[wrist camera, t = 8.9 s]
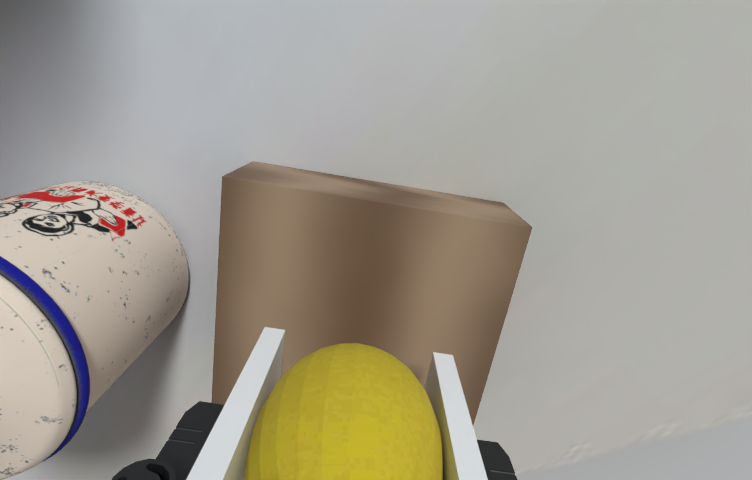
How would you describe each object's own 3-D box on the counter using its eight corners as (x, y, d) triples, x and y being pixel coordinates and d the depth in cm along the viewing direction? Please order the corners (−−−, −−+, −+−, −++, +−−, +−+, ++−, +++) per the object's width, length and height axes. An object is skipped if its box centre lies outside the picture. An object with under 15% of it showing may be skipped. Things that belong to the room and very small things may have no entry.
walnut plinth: (238, 375, 23) (210, 429, 20) (252, 161, 19) (222, 176, 16) (448, 405, 24) (461, 463, 20) (503, 203, 20) (532, 227, 16)
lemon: (350, 447, 17) (325, 720, 10) (253, 360, 16) (137, 594, 8) (456, 374, 16) (524, 618, 8) (361, 273, 15) (340, 454, 7)
